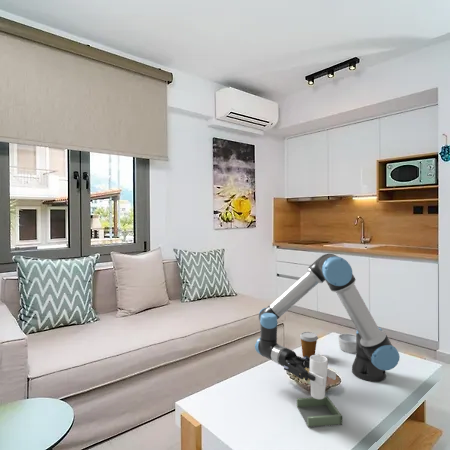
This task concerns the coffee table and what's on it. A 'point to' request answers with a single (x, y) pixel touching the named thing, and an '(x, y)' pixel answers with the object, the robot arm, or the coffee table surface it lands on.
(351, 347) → the ramekin
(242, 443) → the coffee table surface
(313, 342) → the disposable coffee cup
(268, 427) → the coffee table surface
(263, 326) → the robot arm
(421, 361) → the coffee table surface
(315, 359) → the drinking glass
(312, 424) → the tray
